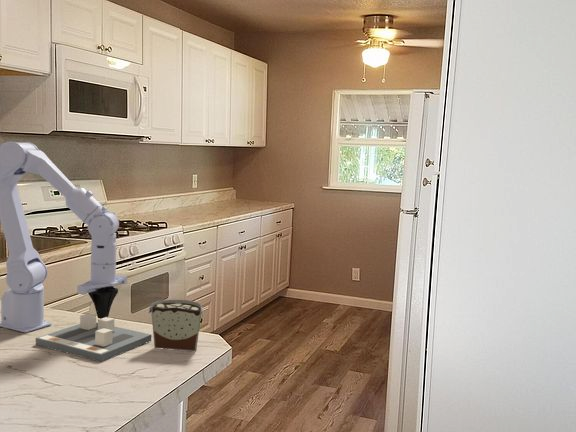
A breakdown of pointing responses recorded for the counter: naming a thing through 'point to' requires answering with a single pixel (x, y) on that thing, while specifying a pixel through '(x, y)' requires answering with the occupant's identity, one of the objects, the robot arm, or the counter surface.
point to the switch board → (92, 342)
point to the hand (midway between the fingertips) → (102, 318)
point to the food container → (176, 324)
